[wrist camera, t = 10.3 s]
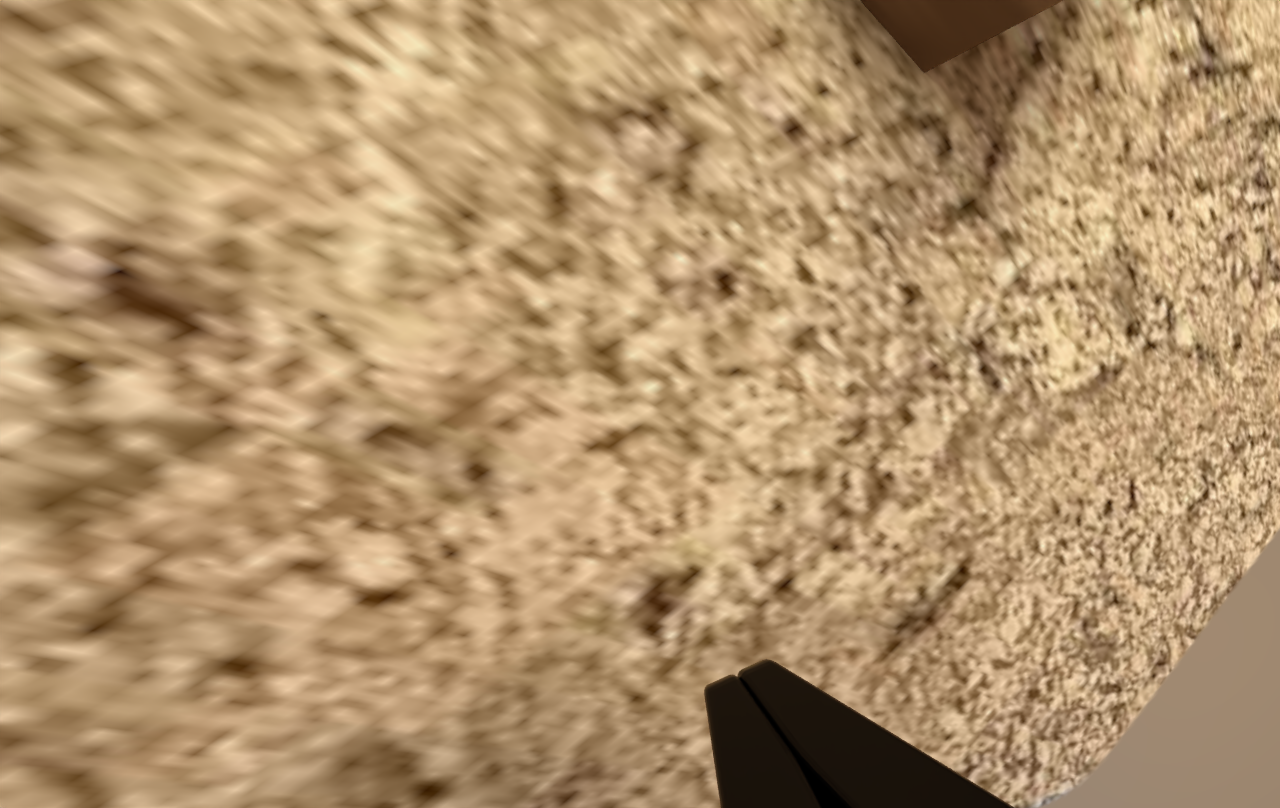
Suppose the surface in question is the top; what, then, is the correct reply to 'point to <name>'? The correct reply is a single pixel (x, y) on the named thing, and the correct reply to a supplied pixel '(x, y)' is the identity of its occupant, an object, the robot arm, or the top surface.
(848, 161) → the top surface
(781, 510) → the top surface
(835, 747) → the robot arm
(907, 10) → the walnut block
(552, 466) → the top surface
